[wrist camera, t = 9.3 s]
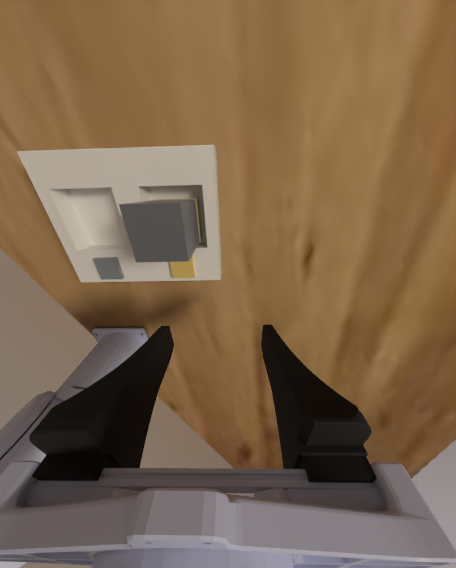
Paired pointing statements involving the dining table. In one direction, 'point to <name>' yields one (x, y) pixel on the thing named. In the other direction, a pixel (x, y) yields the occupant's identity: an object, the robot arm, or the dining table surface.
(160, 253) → the plug
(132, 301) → the dining table surface
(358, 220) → the dining table surface
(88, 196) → the sorting tray
